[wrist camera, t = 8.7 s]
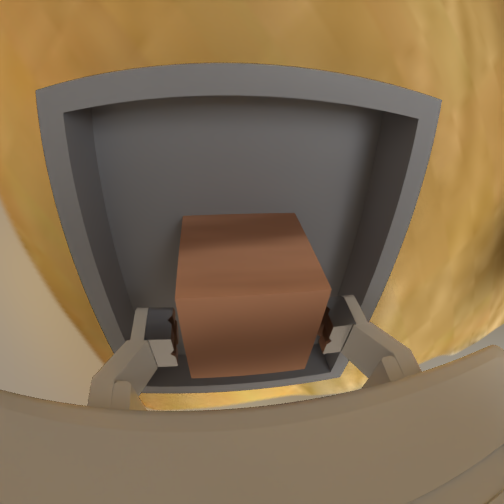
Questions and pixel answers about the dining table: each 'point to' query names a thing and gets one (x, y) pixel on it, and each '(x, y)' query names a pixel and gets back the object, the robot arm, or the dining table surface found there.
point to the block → (248, 294)
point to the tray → (230, 182)
